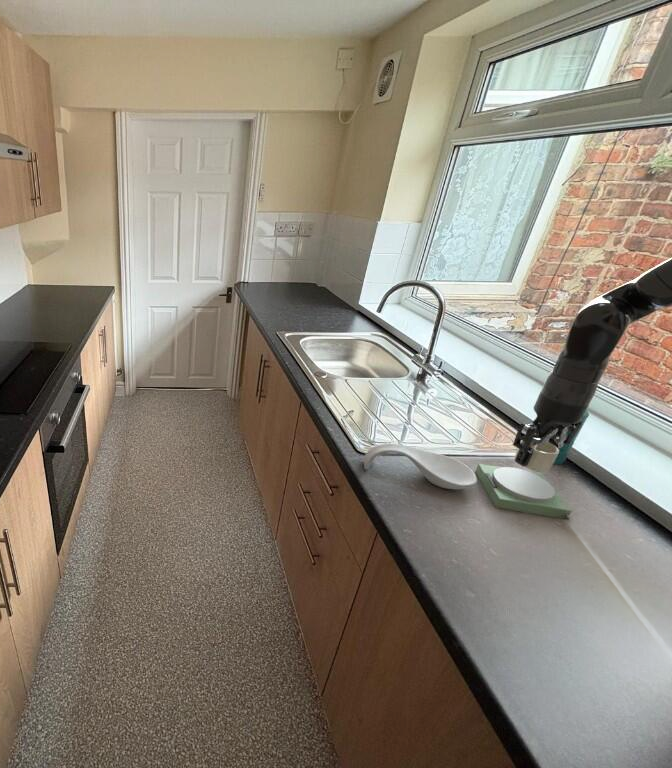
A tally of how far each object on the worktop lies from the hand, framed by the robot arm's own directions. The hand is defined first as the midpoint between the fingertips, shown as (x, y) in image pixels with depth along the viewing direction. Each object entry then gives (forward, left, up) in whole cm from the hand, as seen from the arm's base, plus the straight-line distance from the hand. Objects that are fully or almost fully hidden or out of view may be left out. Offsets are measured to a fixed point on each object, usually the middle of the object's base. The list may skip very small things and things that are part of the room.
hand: (532, 461), depth 92 cm
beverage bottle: (-12, -16, -10) cm, 22 cm away
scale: (0, 0, -9) cm, 9 cm away
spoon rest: (+21, -1, -10) cm, 23 cm away
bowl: (0, 0, -1) cm, 1 cm away
